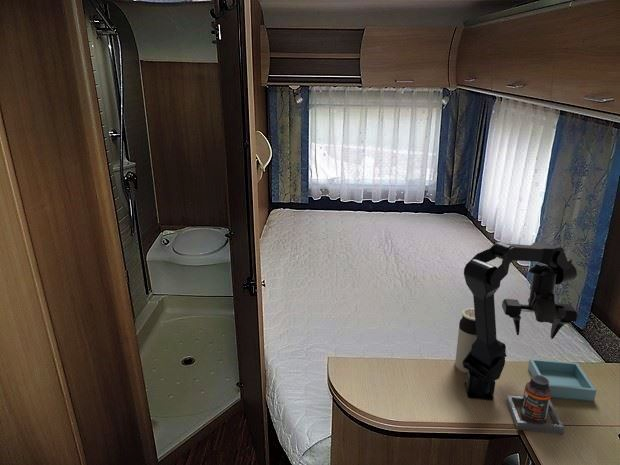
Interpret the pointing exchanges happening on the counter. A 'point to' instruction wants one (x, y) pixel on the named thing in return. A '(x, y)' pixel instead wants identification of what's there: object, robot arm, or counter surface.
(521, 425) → the collar
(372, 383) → the counter surface
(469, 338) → the travel mug
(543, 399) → the supplement bottle
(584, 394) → the bin
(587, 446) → the counter surface
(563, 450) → the counter surface
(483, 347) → the robot arm
